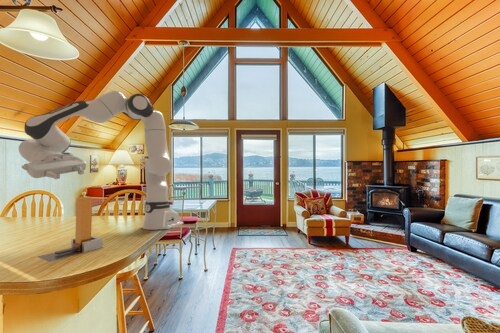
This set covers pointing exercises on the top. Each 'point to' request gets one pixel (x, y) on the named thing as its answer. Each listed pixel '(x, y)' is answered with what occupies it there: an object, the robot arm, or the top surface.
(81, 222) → the orange upright panel
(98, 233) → the top surface
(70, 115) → the robot arm
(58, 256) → the rail plate
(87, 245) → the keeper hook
